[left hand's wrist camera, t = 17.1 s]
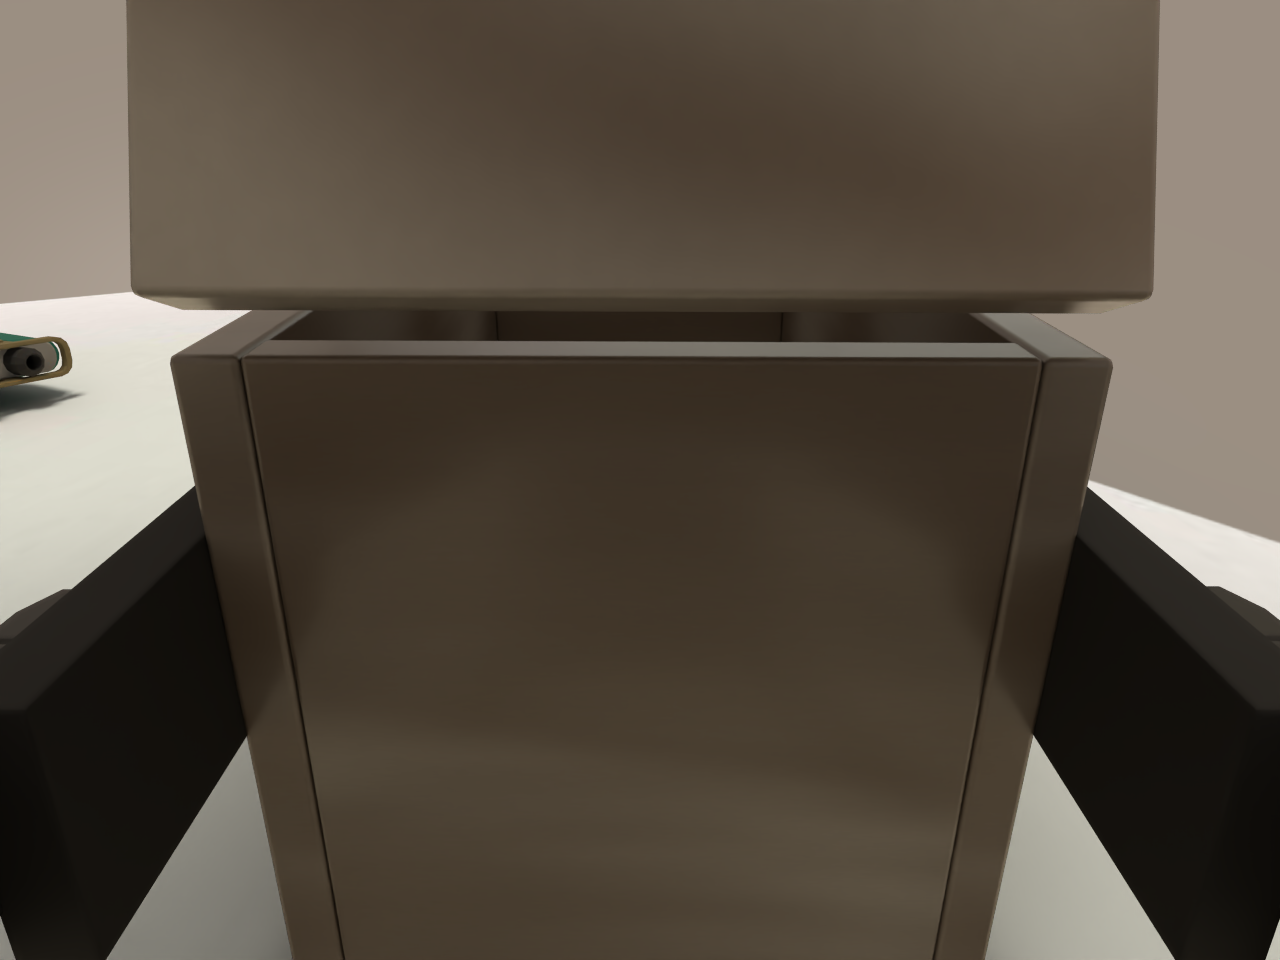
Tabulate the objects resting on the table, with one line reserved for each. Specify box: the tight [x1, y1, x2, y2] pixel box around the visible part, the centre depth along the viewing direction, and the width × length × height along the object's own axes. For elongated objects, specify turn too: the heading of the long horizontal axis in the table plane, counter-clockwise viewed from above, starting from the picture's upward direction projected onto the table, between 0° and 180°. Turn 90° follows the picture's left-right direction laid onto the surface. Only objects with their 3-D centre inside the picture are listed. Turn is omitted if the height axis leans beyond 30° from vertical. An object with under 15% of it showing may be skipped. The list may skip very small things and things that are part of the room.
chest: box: [170, 310, 1113, 960], centre depth 19 cm, size 17×10×10 cm, turn 0°
